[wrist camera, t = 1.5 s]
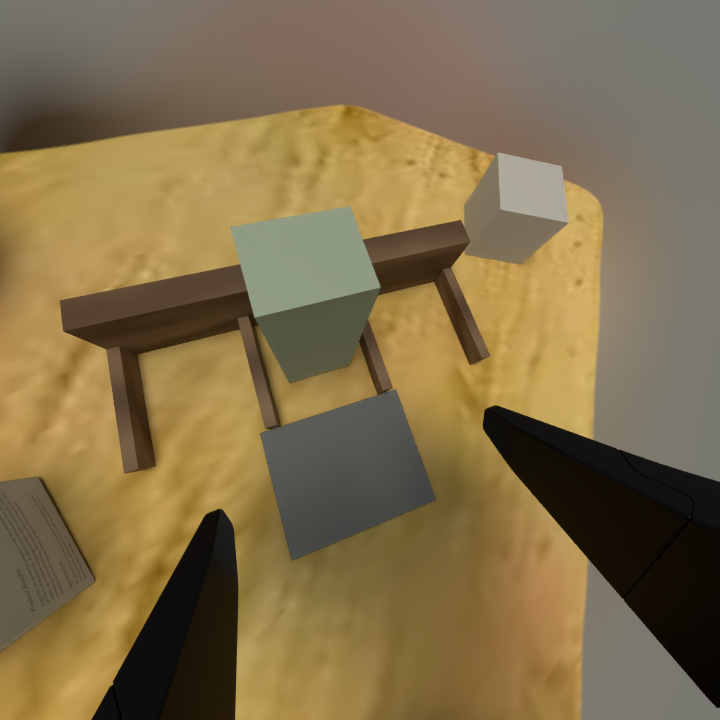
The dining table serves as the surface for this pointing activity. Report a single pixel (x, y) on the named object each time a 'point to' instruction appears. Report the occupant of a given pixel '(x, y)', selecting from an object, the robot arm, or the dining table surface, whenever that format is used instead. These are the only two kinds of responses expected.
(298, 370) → the sage block
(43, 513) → the skincare box
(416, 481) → the slate mat
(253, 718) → the dining table surface
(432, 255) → the lane rack
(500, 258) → the light grey cube
